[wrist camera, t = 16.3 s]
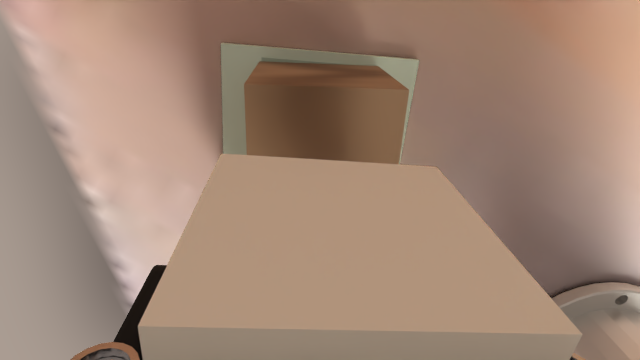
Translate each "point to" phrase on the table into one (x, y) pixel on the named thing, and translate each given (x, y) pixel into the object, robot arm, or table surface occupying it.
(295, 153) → the walnut brick
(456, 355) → the cream brick
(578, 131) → the table surface
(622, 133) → the table surface
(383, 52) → the table surface
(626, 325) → the robot arm
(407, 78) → the mat
